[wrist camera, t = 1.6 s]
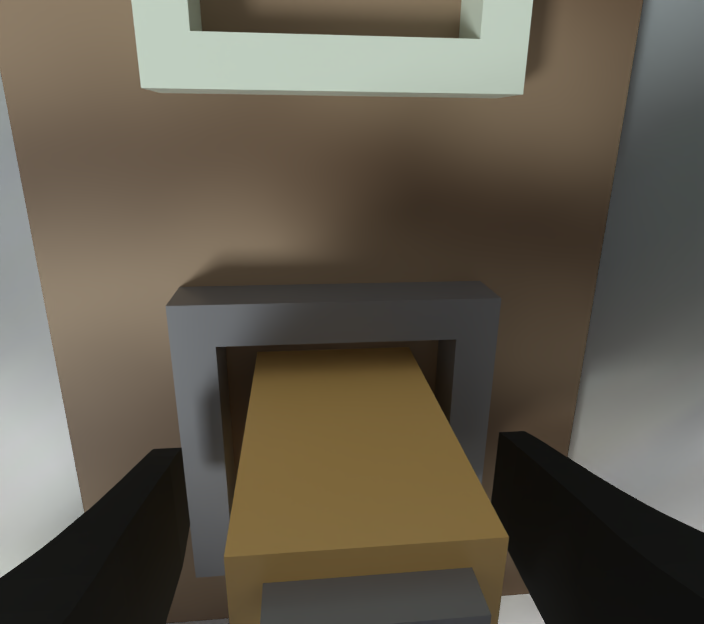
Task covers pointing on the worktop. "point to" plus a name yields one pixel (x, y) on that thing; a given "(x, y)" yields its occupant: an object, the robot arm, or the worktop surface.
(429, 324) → the grey square frame
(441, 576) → the plug
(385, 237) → the switch board
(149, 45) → the pale green square frame
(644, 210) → the worktop surface
